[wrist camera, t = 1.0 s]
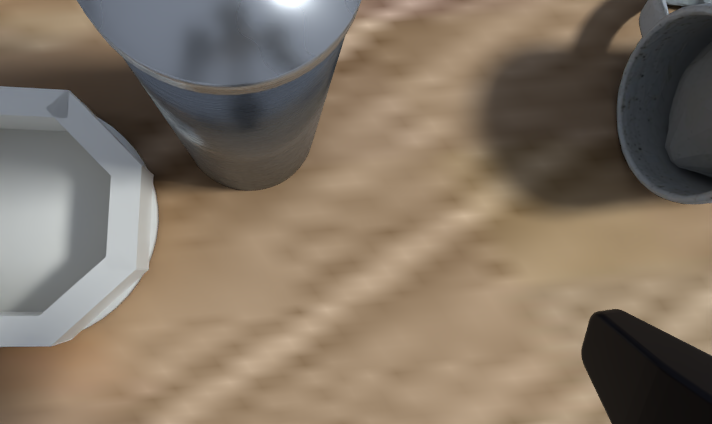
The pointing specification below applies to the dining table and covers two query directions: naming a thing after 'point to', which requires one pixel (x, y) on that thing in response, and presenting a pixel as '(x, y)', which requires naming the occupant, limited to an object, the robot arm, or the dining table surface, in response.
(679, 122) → the ceramic mug
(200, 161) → the canister
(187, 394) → the dining table surface
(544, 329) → the dining table surface
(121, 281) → the collar
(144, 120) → the dining table surface
